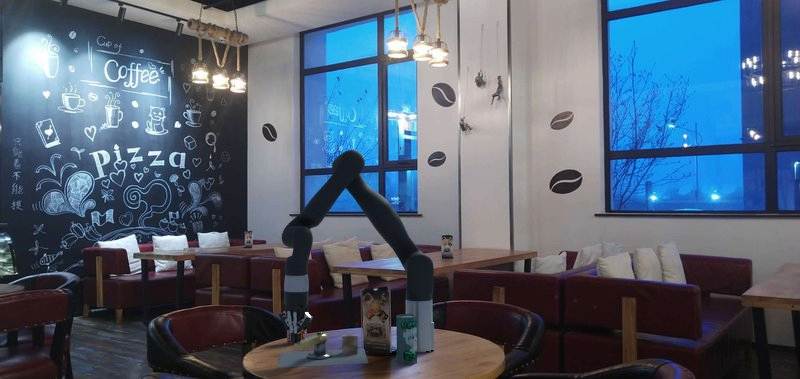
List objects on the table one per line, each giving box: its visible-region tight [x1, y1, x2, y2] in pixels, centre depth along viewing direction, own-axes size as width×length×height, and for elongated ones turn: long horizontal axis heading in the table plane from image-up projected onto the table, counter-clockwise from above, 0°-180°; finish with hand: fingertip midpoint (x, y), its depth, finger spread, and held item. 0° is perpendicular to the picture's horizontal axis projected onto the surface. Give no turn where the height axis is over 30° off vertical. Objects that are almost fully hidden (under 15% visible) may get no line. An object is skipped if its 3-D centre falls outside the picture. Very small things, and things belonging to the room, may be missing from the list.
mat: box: [277, 348, 369, 369], centre depth 200 cm, size 28×19×1 cm
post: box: [308, 341, 332, 360], centre depth 202 cm, size 8×8×5 cm
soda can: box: [286, 321, 308, 345], centre depth 223 cm, size 7×7×12 cm
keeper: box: [341, 333, 359, 355], centre depth 206 cm, size 5×3×6 cm, turn 98°
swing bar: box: [293, 331, 328, 352], centre depth 196 cm, size 16×5×3 cm, turn 159°
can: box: [395, 313, 418, 366], centre depth 194 cm, size 6×6×15 cm
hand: (295, 344), depth 193 cm, fingers closed
